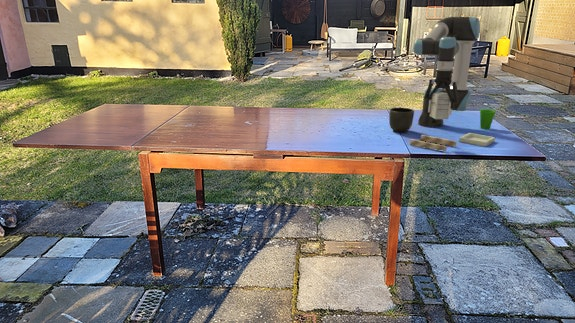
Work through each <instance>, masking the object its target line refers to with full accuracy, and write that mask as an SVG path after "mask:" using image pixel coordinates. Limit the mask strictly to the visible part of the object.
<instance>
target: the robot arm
mask: <svg viewBox="0 0 575 323" xmlns="http://www.w3.org/2000/svg"><path fill="white" fill-rule="evenodd" d="M480 31H481V23H480V19H479V17H477V16H449V17H448V16H447V17H445V18H443V19H440V20H439V21H437V22H436V23H434V24H433V25H432V28H431V31H430V32H428V34H427V35H426V36H425V37H424V38H423V39H416V40H415V42H414V44H413V53H414V55H420V56H437V63H436V69H437V70H436V72H435V78H431V79H429V80H428V86H427V88H426V89H425V90H424V92H423V101H422V110H421V113H420V116H419V118H418V119H417V120H418V121H417V122H418V124H417V125H419V126H422V127H428V128H441V127H443V126H444V119H434V118H433V117H431V116H430V109H431V100H432V95H433V93H447V94H448V96H449V99H450V101H451V102H449V108H448V115H449V116H451V115H452V112H453V111H456V112H464V111H466V110H467V108H468V107H469V106H468V105H469V104H470V99H471V96H472V93H471V92H470V91H469V87H468V85H467V84H468V77H469V71H470V62H471V56H472V49H473V44H474V43H476V40H477V39H479V38H480V33H481V32H480ZM434 84H435V86H434Z"/></svg>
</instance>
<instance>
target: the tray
mask: <svg viewBox="0 0 575 323" xmlns="http://www.w3.org/2000/svg"><path fill="white" fill-rule="evenodd" d="M495 140H496V137H494V136H489V135H483V134H479V133H472V132H468V133H466V134H464V135H462V136H460V137H459V139H458V143H462V144H468V145H472V144H473V145H472V146H477V145H478V146H479V147H483V148H486V147H487V146H488V147H489V145H491V144H493V143H494V142H495Z"/></svg>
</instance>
